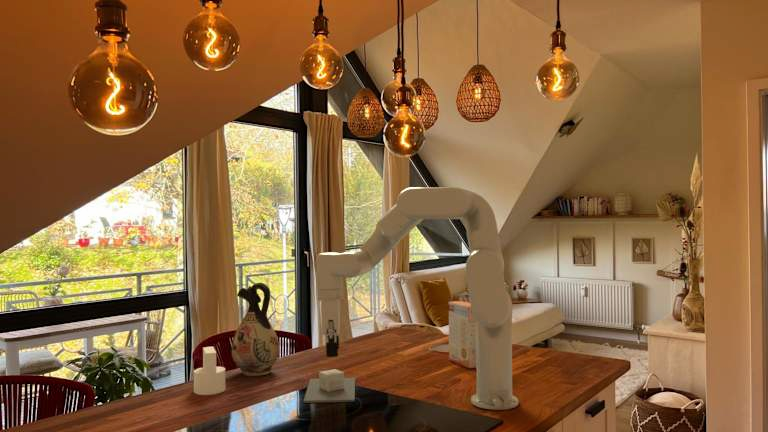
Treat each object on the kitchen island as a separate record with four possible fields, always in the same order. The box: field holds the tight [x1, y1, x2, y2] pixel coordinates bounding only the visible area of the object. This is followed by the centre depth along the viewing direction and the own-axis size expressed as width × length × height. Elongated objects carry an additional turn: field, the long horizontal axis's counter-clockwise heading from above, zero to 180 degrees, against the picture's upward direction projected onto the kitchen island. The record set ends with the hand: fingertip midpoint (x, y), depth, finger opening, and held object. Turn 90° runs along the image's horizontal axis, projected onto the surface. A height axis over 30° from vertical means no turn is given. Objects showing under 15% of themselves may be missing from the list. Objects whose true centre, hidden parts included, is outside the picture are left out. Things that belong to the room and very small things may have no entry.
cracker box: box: [448, 300, 477, 369], centre depth 202 cm, size 14×6×21 cm, turn 22°
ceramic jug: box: [231, 282, 280, 377], centre depth 192 cm, size 17×15×30 cm
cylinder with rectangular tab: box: [193, 346, 226, 396], centre depth 174 cm, size 9×9×12 cm
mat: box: [303, 377, 356, 404], centre depth 172 cm, size 22×14×1 cm, turn 2°
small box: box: [318, 368, 345, 392], centre depth 172 cm, size 6×6×5 cm
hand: (333, 352), depth 172 cm, fingers open, 9 cm apart
